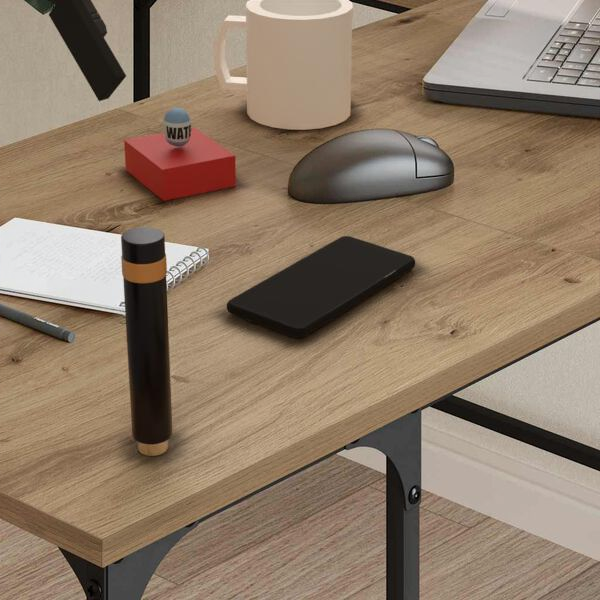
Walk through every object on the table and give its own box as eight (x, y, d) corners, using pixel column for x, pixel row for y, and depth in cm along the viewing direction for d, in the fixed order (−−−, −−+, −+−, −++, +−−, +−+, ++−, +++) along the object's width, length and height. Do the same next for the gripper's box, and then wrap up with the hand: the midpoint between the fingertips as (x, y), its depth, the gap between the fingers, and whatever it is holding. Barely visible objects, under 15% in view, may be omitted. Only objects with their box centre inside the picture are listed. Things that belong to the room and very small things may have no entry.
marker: (145, 464, 83) (134, 248, 77) (124, 445, 85) (111, 232, 79) (181, 451, 85) (173, 237, 78) (160, 432, 86) (150, 222, 80)
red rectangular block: (235, 186, 122) (234, 116, 119) (163, 200, 119) (160, 129, 116) (195, 156, 128) (193, 89, 125) (125, 169, 125) (122, 101, 122)
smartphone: (419, 257, 107) (300, 331, 96) (418, 267, 107) (300, 342, 96) (344, 233, 110) (222, 302, 100) (344, 243, 111) (222, 312, 100)
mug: (202, 123, 136) (199, 14, 131) (227, 90, 145) (225, -14, 140) (341, 133, 134) (343, 22, 129) (358, 98, 142) (361, -6, 138)
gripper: (2, -163, 96) (156, 98, 94) (-362, -113, 80) (-189, 204, 78) (43, -240, 91) (208, 36, 88) (-340, -202, 75) (-152, 137, 72)
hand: (22, 116), depth 83 cm, fingers open, 13 cm apart
